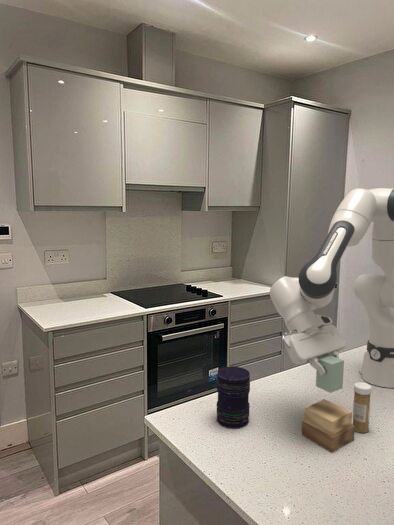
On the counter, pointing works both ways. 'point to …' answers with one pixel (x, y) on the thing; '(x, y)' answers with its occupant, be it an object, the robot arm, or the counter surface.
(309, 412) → the oak block
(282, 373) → the counter surface
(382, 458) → the counter surface
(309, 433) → the walnut block
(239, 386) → the storage jar
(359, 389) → the sprinkles bottle
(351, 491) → the counter surface
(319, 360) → the sage block
